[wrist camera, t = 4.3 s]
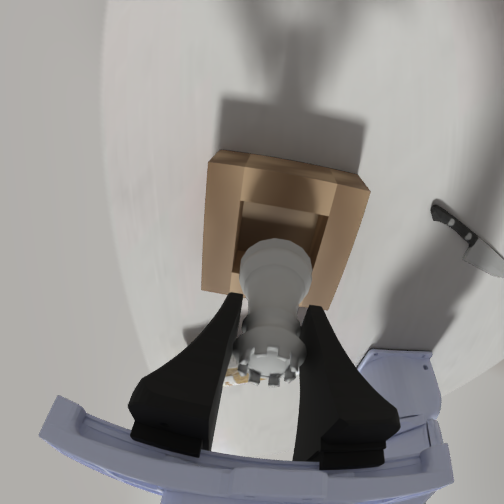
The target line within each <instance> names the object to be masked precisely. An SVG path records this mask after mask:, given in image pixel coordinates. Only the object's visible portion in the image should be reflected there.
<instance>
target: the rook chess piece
mask: <svg viewBox="0 0 504 504" xmlns="http://www.w3.org/2000/svg"><path fill="white" fill-rule="evenodd" d="M312 271H313V270H312V265H311V260H310V258H309V256H308V255H307V254H306V252H305V251H304V250H303V248H302V247H300V246H298V245H296V244H295V243H293V242H291V241H289V240H283V239H277V238H273V239H268V240H263V241H259V242H258V243H256V244H254V245H253V246H251V247H250V248H248V250H247V251H246V253H245V254H244V256H243V257H242V259H241V265H240V273H239V282H240V285H241V288H242V291H243V294H244V295H245V296H246V299H247V300H248V315H247V317H246V318H245V319H244V320H243V323H242V331H243V334H241V335H240V336H239V337H238V338H237V339H236V341H235V342H234V343H233V348H232V354H233V356H234V358H235V360H236V361H237V363H238V369H237V370H238V372H239V374H240V376H241V377H242V376H247V373H248V374H249V378H248V382H249V383H251V384H254V385H257V386H258V385H259V383H260V378H263V379H269V383H268V386H269V387H280V378H283V377H284V381H286V382H287V383H290V382H291V381H293V380H294V379H295V378H296V372H298V367H299V366H301V365H302V364H303V363H304V361H305V358H306V356H307V351H306V346H305V344H304V343H303V342H302V341H301V340H300V339H299V336H300V333H301V326H300V322H299V320H298V319H297V312H298V307H299V304H300V303H301V302H302V300H303V298H304V297H305V296H306V295H307V294H308V291H309V288H310V285H311V282H312V275H311V274H312Z"/></svg>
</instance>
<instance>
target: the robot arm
mask: <svg viewBox="0 0 504 504" xmlns="http://www.w3.org/2000/svg"><path fill="white" fill-rule="evenodd" d="M242 300H243V294H240V293H234V292H230V293H228V295H227V297H226V299H225V301H224V303H223V305H222V306H221V308H220V309H219V311H218V312H217V313H216V315H215V316H214V318H213V319H212V320H211V322H210V323H209V324H208V325H207V326H206V328H205V329H204V330H203V331H202V332H201V333H200V334H199V336H198V337H197V338H196V339H195V340H194V341H193V342H192V343H191V344H190V345H188V346H187V347H186V348H185V349H184V350H183V351H182V352H181V353H179V354H178V355H177V356H176V357H174V358H173V359H172V360H170V361H169V362H167V363H166V364H165V365H163V366H162V367H160V368H159V369H157V370H155V371H154V372H152V373H150V374H149V375H147V376H145V377H144V378H142V379H141V380H140V382H139V383H138V385H137V386H136V388H135V390H134V392H133V393H132V396H131V398H130V401H129V404H128V409H129V411H130V412H131V414H132V416H133V418H134V420H135V422H134V425H133V427H132V430H129V429H126V428H123V427H120V426H118V425H115V424H112V423H110V422H107V421H105V420H102V419H100V418H97V417H95V416H92V415H90V414H88V413H86V412H85V410H84V409H83V407H81V406H80V405H79V404H77V403H75V402H73V401H71V400H68V399H66V398H64V397H62V396H60V395H58V396H57V398H56V400H55V401H54V403H53V405H52V408H51V410H50V412H49V414H48V416H47V418H46V420H45V422H44V424H43V427H42V429H41V431H40V433H39V437H41V438H42V439H43V440H44V441H45V442H47V443H48V444H50V445H51V446H52V447H54V448H55V449H56V450H57V451H59V452H60V453H62V454H64V455H66V456H67V457H69V458H71V459H73V460H75V461H77V462H79V463H81V464H83V465H85V466H87V467H89V468H92V469H94V470H96V471H98V472H100V473H102V474H105V475H107V476H109V477H111V478H114V479H116V480H119V481H121V482H124V483H126V484H129V485H132V486H134V487H137V488H140V489H143V490H146V491H148V492H152V493H155V494H158V495H161V496H162V499H161V503H160V504H426V501H427V500H428V499H429V498H430V497H431V496H432V495H433V494H434V493H435V492H436V491H437V490H438V489H441V488H443V487H445V486H448V485H450V484H452V483H453V482H454V477H453V471H452V465H451V459H450V453H449V448H448V444H447V443H443V439H442V435H441V431H440V427H439V423H438V421H437V420H436V419H437V417H438V415H439V413H440V409H441V393H440V390H439V387H438V383H437V380H436V377H435V374H434V371H433V368H432V365H431V362H430V358H431V357H432V355H433V354H432V352H427V351H397V350H379V349H371V350H369V351H368V353H367V354H366V356H365V357H364V359H363V360H362V362H361V363H360V365H359V366H358V368H356V367H355V366H354V364H353V363H352V361H351V360H350V358H349V357H348V355H347V354H346V352H345V351H344V349H343V347H342V346H341V344H340V342H339V340H338V338H337V337H336V335H335V333H334V331H333V329H332V327H331V325H330V323H329V321H328V319H327V317H326V314H325V312H324V310H323V308H322V306H316V305H309V307H308V310H307V312H306V315H305V318H304V321H303V323H302V326H301V333H300V336H299V339H300V340H301V341H302V342H303V343H304V344H305V346H306V351H307V356H306V358H305V361H304V363H303V364H302V365H301V366H299V377H300V404H299V416H298V426H297V434H296V442H295V448H294V455H293V460H292V461H282V460H270V459H260V458H251V457H243V456H236V455H229V454H223V453H217V452H212V451H211V447H212V442H213V436H214V431H215V425H216V420H217V414H218V409H219V404H220V398H221V393H222V388H223V383H224V379H225V376H226V372H227V369H228V366H229V362H230V359H231V356H232V348H233V343H234V342H235V341H236V337H237V332H238V326H239V320H240V313H241V307H242Z"/></svg>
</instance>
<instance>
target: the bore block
mask: <svg viewBox="0 0 504 504" xmlns="http://www.w3.org/2000/svg"><path fill="white" fill-rule="evenodd" d="M370 192H371V191H370V190H369V189H368V187H367V186H366V185H365V183H364V182H363V181H362V179H361V178H360V177H359V176H358V175H357V174H353V173H349V172H345V171H340V170H336V169H331V168H327V167H322V166H317V165H312V164H308V163H302V162H297V161H292V160H286V159H281V158H275V157H269V156H263V155H256V154H249V153H242V152H235V151H227V150H219V151H218V152H217V153H216V154H215V155H214V156H213V158H212V159H211V160H210V161H209V162H208V170H207V184H206V198H205V214H204V232H203V253H202V281H201V290H204V291H209V292H215V293H220V294H226V295H228V293H230V292H234V293H240V294H243V291H242V288H241V285H240V282H239V273H240V265H241V259H242V257H243V256H244V254H245V253H246V251H247V250H248V248H250V247H251V246H253V245H254V244H256V243H258V242H259V241H263V240H268V239H273V238H277V239H283V240H289V241H291V242H293V243H295V244H296V245H298V246H300V247H302V248H303V250H304V251H305V252H306V254H307V255H308V256H309V258H310V260H311V265H312V270H313V271H312V274H311V275H312V282H311V285H310V288H309V291H308V294H307V295H306V296H305V297H304V298H303V300H302V302H301V303H300V304H299V307H306V308H308V307H309V305H316V306H322V308H323V310H328V309H329V307H330V304H331V302H332V300H333V297H334V295H335V292H336V290H337V287H338V285H339V282H340V279H341V277H342V274H343V272H344V269H345V266H346V264H347V261H348V258H349V255H350V253H351V250H352V247H353V244H354V241H355V239H356V236H357V233H358V230H359V227H360V224H361V221H362V218H363V215H364V212H365V208H366V205H367V202H368V199H369V196H370ZM243 298H246V296H245V295H244V294H243Z"/></svg>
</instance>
